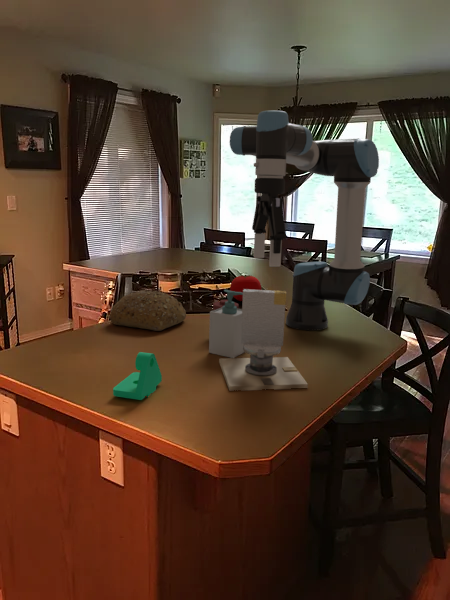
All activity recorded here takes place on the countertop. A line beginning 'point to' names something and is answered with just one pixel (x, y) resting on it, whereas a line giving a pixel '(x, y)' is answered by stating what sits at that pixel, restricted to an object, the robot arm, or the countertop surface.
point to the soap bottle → (226, 329)
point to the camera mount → (140, 378)
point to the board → (242, 380)
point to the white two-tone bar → (263, 322)
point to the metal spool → (261, 366)
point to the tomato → (244, 285)
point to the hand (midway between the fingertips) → (266, 262)
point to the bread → (147, 310)
